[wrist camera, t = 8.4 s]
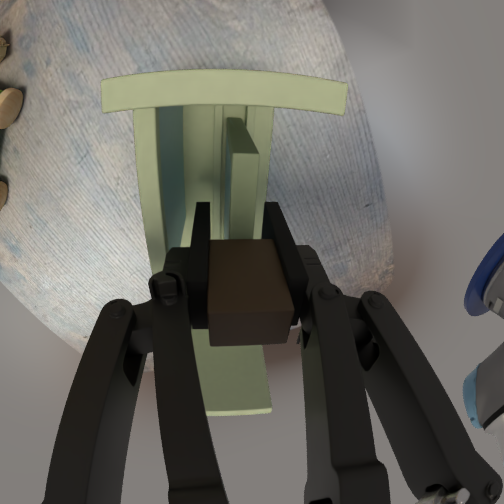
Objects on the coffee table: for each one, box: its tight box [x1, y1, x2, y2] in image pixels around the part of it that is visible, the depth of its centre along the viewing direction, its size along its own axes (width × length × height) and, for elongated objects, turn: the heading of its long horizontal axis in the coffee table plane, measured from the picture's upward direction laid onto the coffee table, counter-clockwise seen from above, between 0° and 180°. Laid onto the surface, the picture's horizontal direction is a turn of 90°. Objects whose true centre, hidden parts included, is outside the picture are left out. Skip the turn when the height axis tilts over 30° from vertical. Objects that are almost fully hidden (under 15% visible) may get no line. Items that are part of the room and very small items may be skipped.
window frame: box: [101, 69, 348, 416], centre depth 20 cm, size 8×24×14 cm, turn 176°
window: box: [207, 117, 295, 347], centre depth 16 cm, size 3×10×15 cm, turn 176°
